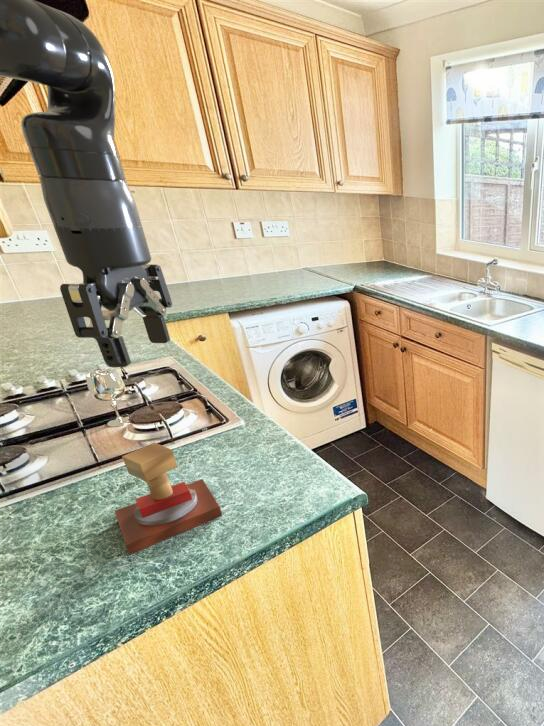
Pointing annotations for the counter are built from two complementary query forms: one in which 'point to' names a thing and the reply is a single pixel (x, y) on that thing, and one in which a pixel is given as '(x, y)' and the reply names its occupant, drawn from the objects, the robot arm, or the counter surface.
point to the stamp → (158, 486)
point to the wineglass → (107, 390)
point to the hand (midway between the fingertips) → (141, 353)
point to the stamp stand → (147, 536)
